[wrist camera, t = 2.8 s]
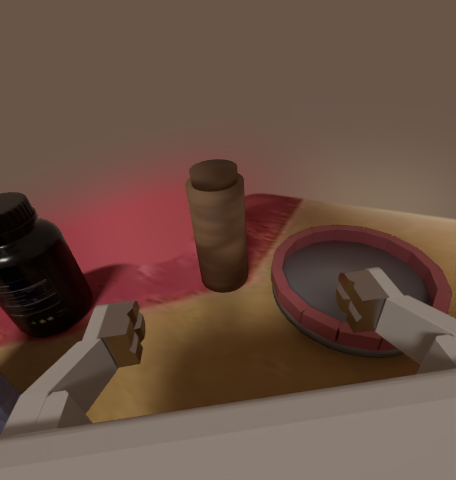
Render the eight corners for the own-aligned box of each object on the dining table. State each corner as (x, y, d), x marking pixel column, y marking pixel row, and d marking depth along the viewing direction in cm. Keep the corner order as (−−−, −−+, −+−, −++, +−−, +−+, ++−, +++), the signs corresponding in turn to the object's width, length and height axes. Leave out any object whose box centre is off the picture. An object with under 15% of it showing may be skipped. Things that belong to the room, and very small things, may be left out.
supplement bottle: (27, 297, 30) (-44, 196, 23) (94, 278, 32) (47, 179, 25) (11, 351, 25) (-88, 240, 18) (93, 325, 26) (32, 214, 19)
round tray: (297, 370, 21) (300, 350, 20) (259, 251, 34) (259, 233, 32) (485, 343, 22) (500, 322, 21) (380, 235, 34) (385, 218, 33)
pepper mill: (202, 295, 28) (182, 183, 21) (201, 263, 33) (183, 161, 25) (251, 289, 29) (247, 176, 22) (243, 258, 33) (238, 155, 26)
